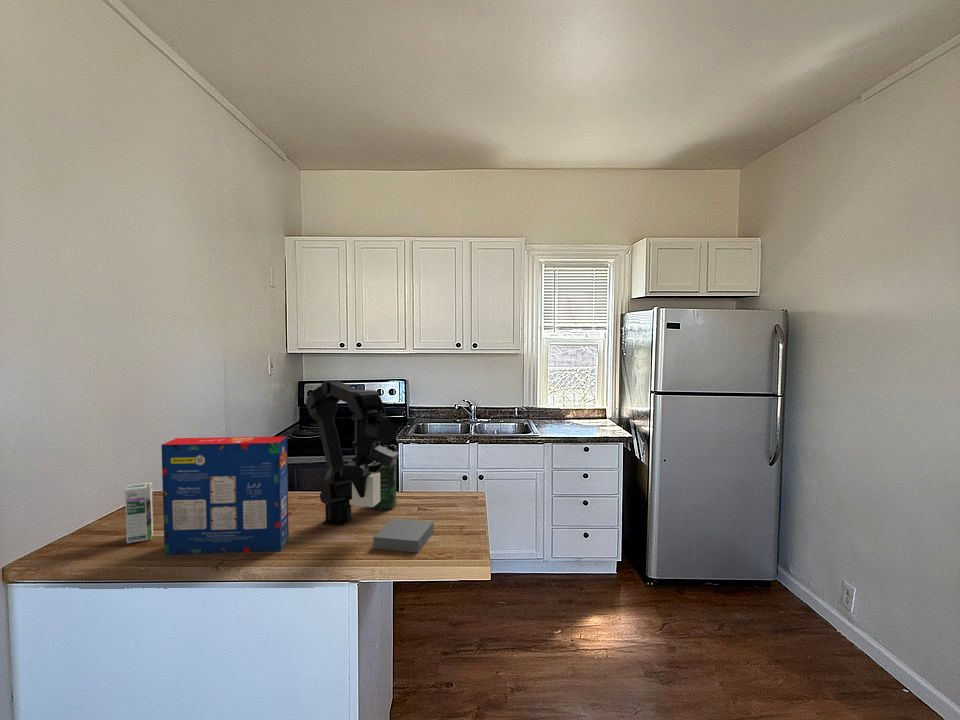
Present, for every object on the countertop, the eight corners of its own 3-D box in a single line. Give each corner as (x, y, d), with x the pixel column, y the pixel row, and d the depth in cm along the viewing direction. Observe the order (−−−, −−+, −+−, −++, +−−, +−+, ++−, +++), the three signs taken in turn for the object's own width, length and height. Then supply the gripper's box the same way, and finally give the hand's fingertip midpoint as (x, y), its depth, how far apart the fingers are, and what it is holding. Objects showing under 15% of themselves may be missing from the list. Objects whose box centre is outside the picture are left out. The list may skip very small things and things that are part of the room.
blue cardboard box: (288, 538, 142) (287, 436, 141) (280, 551, 134) (278, 442, 133) (179, 542, 139) (176, 438, 138) (164, 555, 131) (161, 444, 130)
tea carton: (352, 505, 142) (351, 476, 141) (360, 499, 146) (359, 471, 146) (373, 507, 140) (372, 477, 140) (380, 501, 145) (380, 472, 145)
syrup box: (126, 544, 138) (124, 489, 137) (129, 536, 143) (127, 483, 142) (151, 540, 141) (150, 486, 140) (153, 532, 146) (152, 481, 145)
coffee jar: (393, 510, 165) (393, 452, 164) (368, 510, 165) (368, 452, 164) (398, 500, 174) (398, 445, 173) (374, 500, 174) (374, 445, 173)
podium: (373, 548, 136) (373, 537, 136) (393, 528, 150) (393, 518, 150) (417, 552, 134) (417, 541, 134) (433, 532, 147) (433, 521, 147)
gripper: (380, 446, 132) (381, 507, 133) (405, 432, 150) (406, 486, 151) (339, 444, 134) (340, 504, 135) (369, 430, 152) (369, 483, 153)
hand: (366, 494), depth 143 cm, fingers closed on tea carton, 5 cm apart
